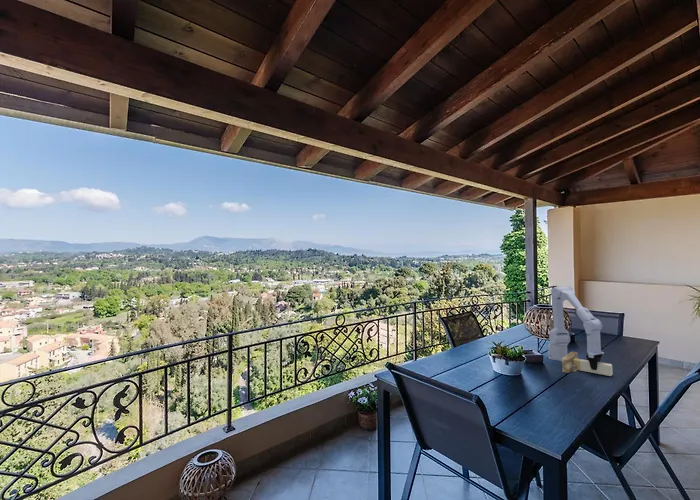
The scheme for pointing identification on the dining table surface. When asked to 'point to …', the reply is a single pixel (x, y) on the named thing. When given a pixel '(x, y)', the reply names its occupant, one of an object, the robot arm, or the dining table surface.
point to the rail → (585, 366)
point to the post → (569, 362)
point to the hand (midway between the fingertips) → (594, 368)
